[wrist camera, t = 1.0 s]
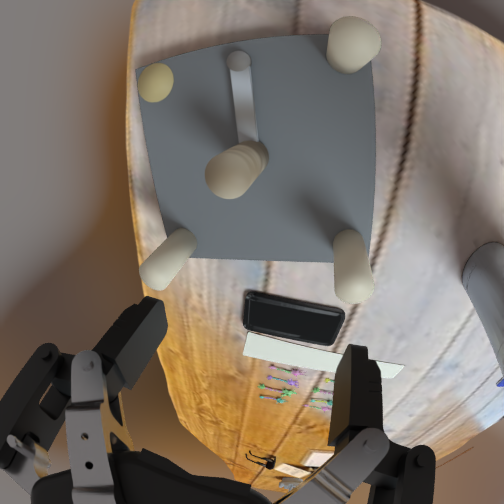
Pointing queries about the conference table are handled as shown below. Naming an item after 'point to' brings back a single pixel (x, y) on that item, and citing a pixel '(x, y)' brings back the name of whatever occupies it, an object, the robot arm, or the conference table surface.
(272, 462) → the sunglasses
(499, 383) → the hard drive
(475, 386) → the conference table surface
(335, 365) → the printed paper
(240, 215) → the grey square base plate
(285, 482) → the flag stand
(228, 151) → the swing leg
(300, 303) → the phone
